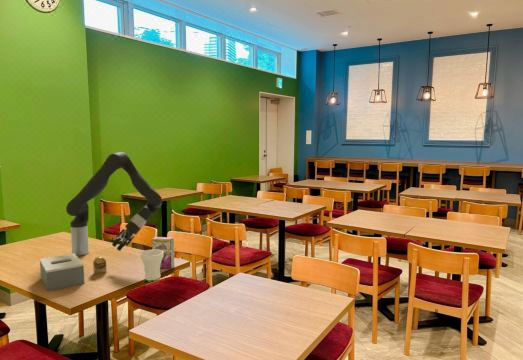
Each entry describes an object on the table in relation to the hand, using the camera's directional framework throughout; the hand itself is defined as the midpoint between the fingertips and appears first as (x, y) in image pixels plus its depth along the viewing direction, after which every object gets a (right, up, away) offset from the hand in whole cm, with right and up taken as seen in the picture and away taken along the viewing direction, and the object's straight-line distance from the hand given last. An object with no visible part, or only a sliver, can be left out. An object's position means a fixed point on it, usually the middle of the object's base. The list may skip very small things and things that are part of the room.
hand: (115, 247), depth 206 cm
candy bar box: (+24, -12, +6) cm, 28 cm away
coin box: (-21, -14, -14) cm, 29 cm away
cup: (+23, -14, -12) cm, 30 cm away
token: (-7, -13, -4) cm, 15 cm away
